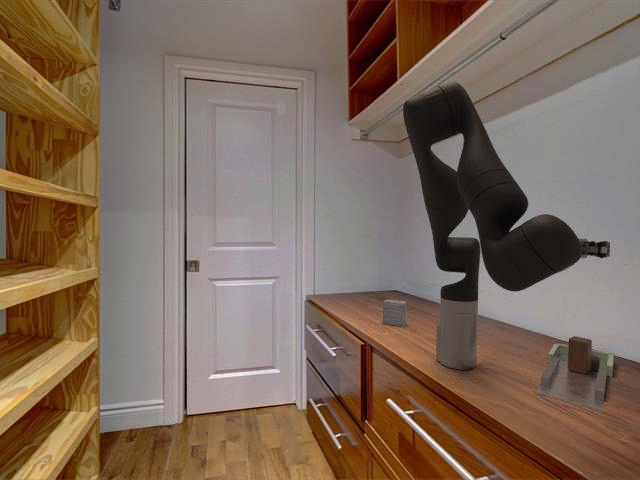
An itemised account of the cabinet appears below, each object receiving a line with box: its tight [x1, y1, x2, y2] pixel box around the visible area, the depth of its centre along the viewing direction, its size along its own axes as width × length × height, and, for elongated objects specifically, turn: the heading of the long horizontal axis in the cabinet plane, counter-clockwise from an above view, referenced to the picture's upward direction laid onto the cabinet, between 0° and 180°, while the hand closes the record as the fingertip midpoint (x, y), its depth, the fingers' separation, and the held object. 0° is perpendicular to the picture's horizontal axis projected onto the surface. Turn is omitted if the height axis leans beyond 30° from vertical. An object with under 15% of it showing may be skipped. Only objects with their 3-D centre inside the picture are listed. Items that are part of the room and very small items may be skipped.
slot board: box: [536, 354, 608, 411], centre depth 85 cm, size 34×11×2 cm, turn 139°
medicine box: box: [382, 299, 408, 328], centre depth 132 cm, size 8×4×9 cm, turn 59°
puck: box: [591, 355, 600, 371], centre depth 90 cm, size 4×4×3 cm
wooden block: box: [567, 335, 593, 374], centre depth 88 cm, size 4×4×8 cm
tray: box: [547, 342, 615, 378], centre depth 93 cm, size 12×13×2 cm
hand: (563, 246), depth 69 cm, fingers open, 8 cm apart
